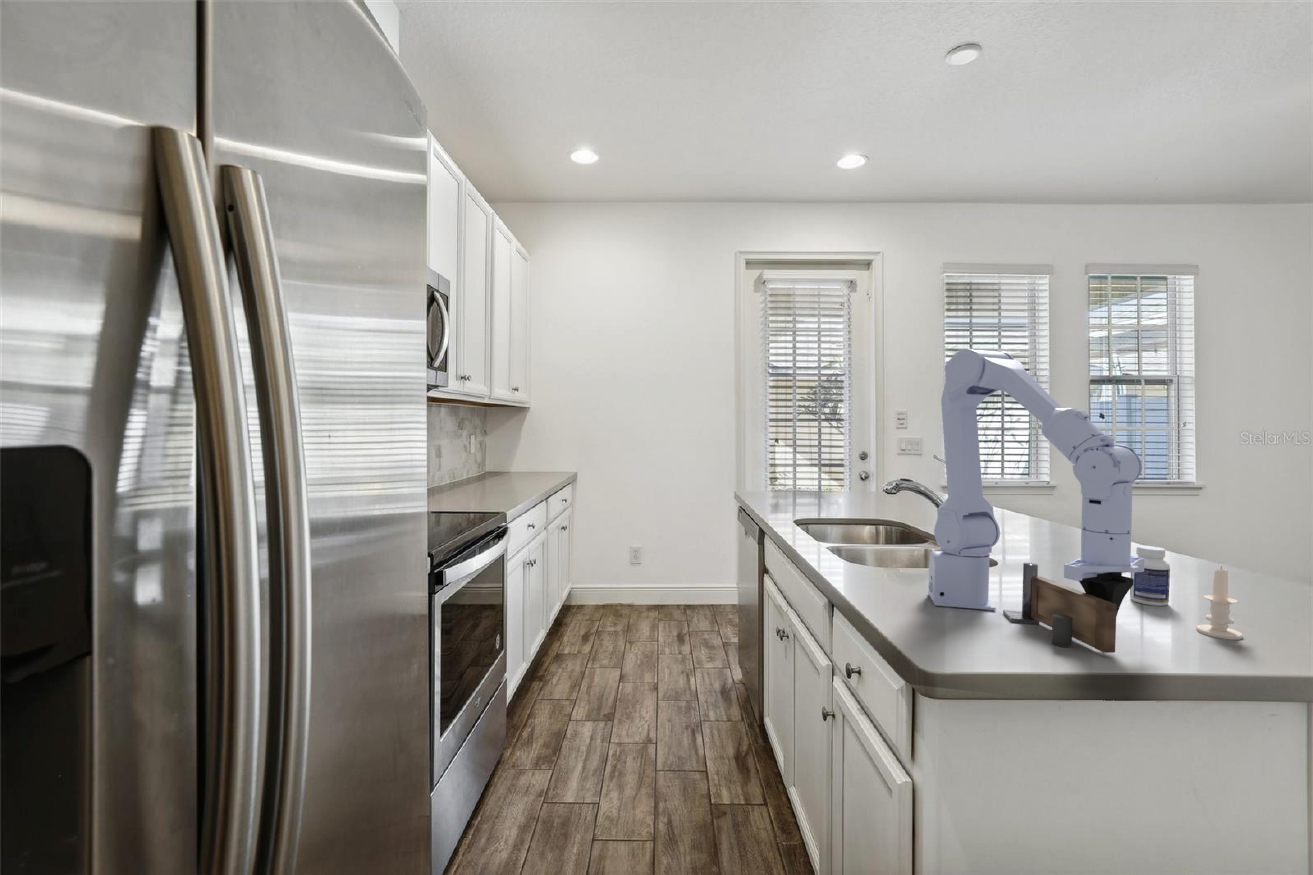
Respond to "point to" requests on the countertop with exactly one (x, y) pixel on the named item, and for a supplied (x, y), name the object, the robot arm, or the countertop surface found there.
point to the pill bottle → (1151, 578)
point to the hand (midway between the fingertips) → (1103, 625)
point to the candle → (1220, 610)
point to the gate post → (1025, 597)
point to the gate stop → (1062, 630)
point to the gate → (1076, 612)
